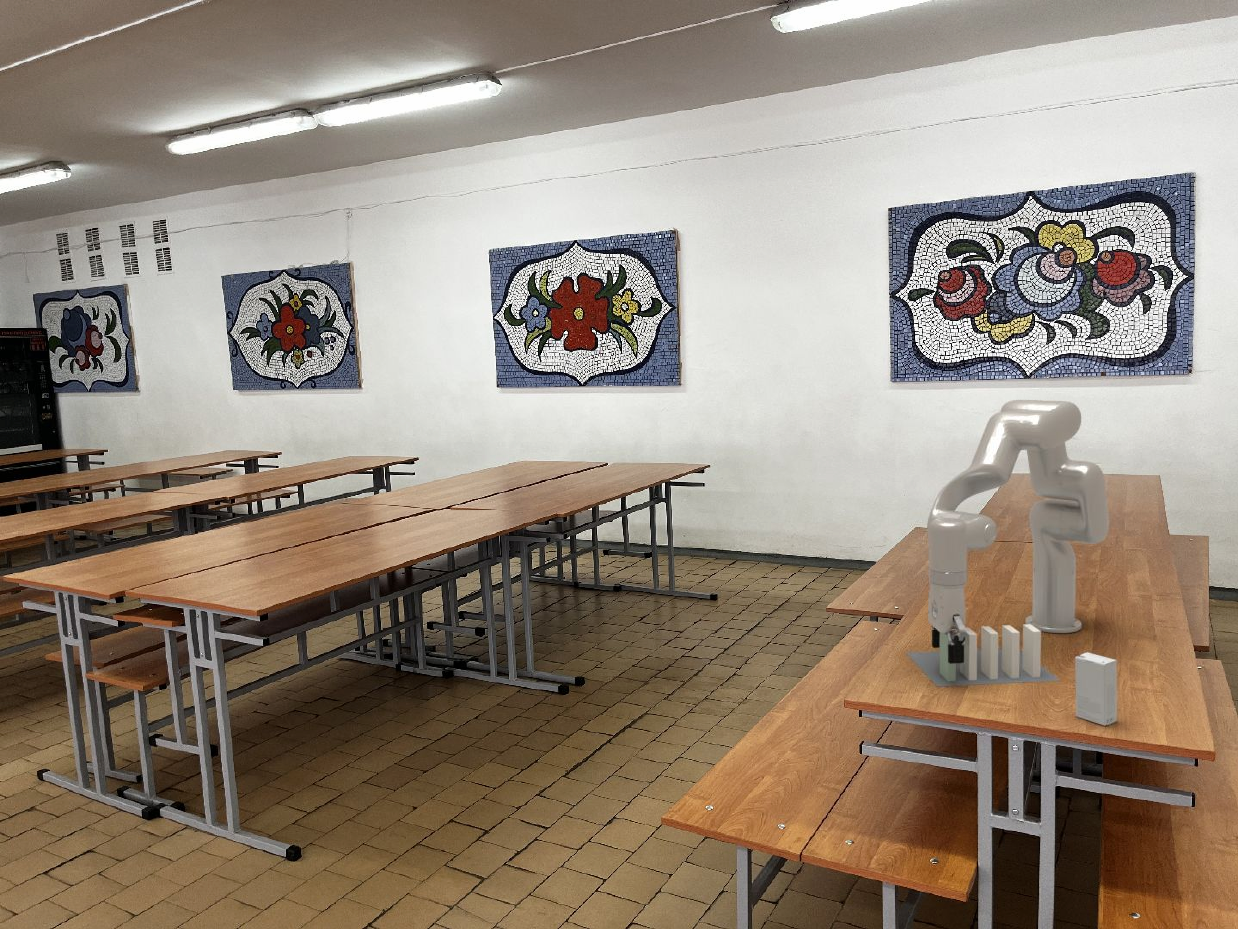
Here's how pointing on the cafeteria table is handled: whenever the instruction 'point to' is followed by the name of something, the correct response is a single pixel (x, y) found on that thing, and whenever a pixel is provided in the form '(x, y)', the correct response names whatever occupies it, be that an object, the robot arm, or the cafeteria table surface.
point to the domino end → (946, 659)
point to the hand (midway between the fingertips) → (947, 655)
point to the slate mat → (931, 668)
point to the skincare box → (1096, 688)
